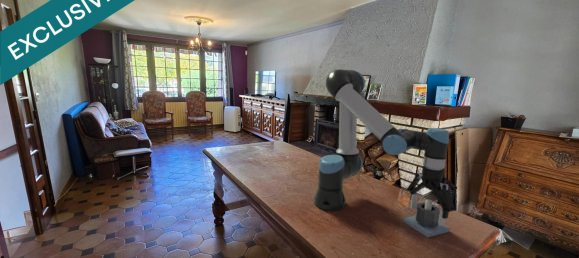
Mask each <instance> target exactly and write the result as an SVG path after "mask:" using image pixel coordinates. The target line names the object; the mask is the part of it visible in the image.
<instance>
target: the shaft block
mask: <svg viewBox="0 0 579 258" xmlns="http://www.w3.org/2000/svg"><path fill="white" fill-rule="evenodd" d="M424 203H425V210H430V211H431V208H432V205H433V201H432V200H431V199H425V202H424ZM415 216H416V215H412V216H408V217H403V222H404V223H405V224H406V225H408V226H409V227H411V228H412V229H414V230H415V231H417V232H419V233H420V234H421V235H423V236H425V237H426V238H430V237H434V236H438V235H442V234H445V233H449V232H450V229H451V228H450V227H448V226H447V225H441V226H439V225H437V226H433V227H430V226H426V225H422V224H421V223H419V222H417V221H416V218H415Z"/></svg>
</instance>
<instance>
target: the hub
mask: <svg viewBox="0 0 579 258" xmlns="http://www.w3.org/2000/svg"><path fill="white" fill-rule="evenodd" d="M439 215H440V208H439V206H436V205H434V204H432V208H431V211H430V210H425V202H419V203H418V202H417V205H416V208H415V215H414V216H415V218H416V221H417V222H419V223H421V224H422V225H426V226H430V227H433V226H437V225H438V222H439Z"/></svg>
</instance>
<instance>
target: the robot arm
mask: <svg viewBox="0 0 579 258" xmlns="http://www.w3.org/2000/svg"><path fill="white" fill-rule="evenodd" d="M325 87H326V90H327V92H328V93H329V94H330V95H331V97H333V99H334V100H335V101H337V102H339V113H338V114H339V115H338V116H339V119H338V122H339V125H338V126H339V127H338V129H339V132H338V133H339V135H338V148H337V149H336V150H335V154H327V155H324V156H322V157H321V158H320V159H319V165H318V183H317V184H318V187H317V190H316V192H315V196H314V199H313V200H314V202H313V204H314V205H315V206H316V207H318V208H319V209H321V210H324V211H330V212H336V211H340V210H342V209H344V208H345V206H346V197H345V194H344V191H343V188H344V187H343V186H344V184H343V183H344V180H347V179H348V178H351V177H355V176H356V175H357V174H358V173H359V174H360V172H361V170H362V168H363V165H364V164H363V163H364V162H363V158H362V157H361V155H360V150H358V148H357V124H358V122H357V121H360V122H361V123H362V124H363V125H364V126H365V127H367V129H368V130H370V132H371V133H372V134H373V135H374V136H375V137H376V138H377V139H378V140H380V141H381V143H382V148H383V150H384V152H385V153H387V154H388V155H391V156H397V155H400V154H401V155H402V153H403V154H404V153H405V152H407V151H409V150H411V149H413V150H417V151H424V154H423V160H422V168H421V169H422V170H421V172H417V173H415V175H414V178H413V180H411V182H410V183H409V185H408V187H406V190H407V192H408V191H409V193H410V198H409V199H410V207H409V209H411V210H413V209H416V208H417V204H418V199H419V198H418V197H419V193H418V192H419V191H421V190H423V189H424V188H425V189H428V190H430V191H431V192H433V194H434V195H435V196H436V198H437V201H438V202H439V205H440V207H441V209H440V208H439V210H440V214H439V221H438V225H439V226H441V225H445V224H446V220H447V219H448V218H449V213H450V212H455V205H454V202H453V198H452V194H451V191H450V184H449V183H446V184H445V183H443V179H444V174H445V168H446V167H445V166H446V159H447V153H448V147H449V143H450V141H449V138H450V132H449V130H447V129H445V128H440V127H439V128H436V127H429V128H428V129H427V130H426V131H419V130H413V129H408V128H398V129H397V128H396V127H395V126H394V125H393V124H392V123H391V121H389V120H388V119H387V118H386V117H385V116H383V114H381V112H379V111H378V110H377V109H376V108H375V107H373V106H372V104H370V103H369V102H368V101H367V100H366V99H365V98H364V97H363V96H362V92H363V91H364V89H365V87H366V80H365V77H364V76H363V74H362V73H361V72H360V71H356V70H352V69H342V68H339V69H335V70H332V71H331V72H330V73H329V74H328V75H327V76H326V79H325ZM420 181H421V182H420ZM419 182H420V183H419ZM445 226H446V225H445Z"/></svg>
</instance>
